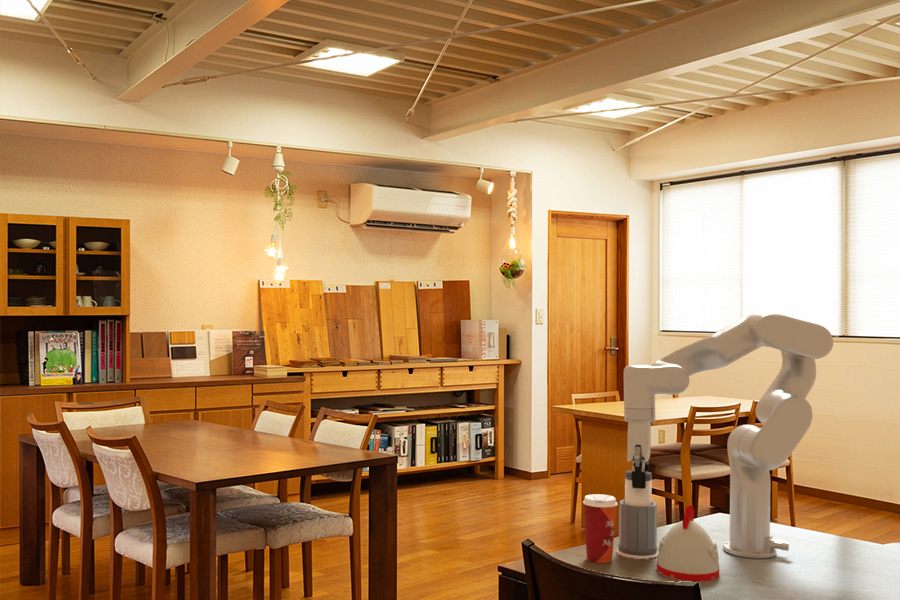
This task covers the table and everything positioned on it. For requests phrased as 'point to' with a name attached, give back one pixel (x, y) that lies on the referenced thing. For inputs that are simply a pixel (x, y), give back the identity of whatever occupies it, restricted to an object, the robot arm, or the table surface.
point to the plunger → (638, 491)
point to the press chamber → (637, 531)
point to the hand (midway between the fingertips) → (640, 483)
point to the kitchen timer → (688, 552)
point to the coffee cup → (599, 527)
